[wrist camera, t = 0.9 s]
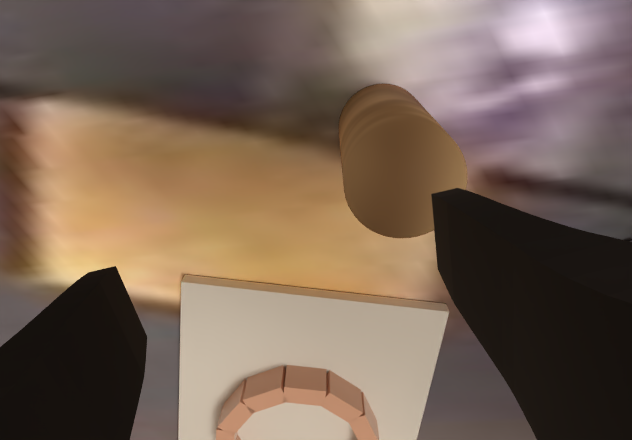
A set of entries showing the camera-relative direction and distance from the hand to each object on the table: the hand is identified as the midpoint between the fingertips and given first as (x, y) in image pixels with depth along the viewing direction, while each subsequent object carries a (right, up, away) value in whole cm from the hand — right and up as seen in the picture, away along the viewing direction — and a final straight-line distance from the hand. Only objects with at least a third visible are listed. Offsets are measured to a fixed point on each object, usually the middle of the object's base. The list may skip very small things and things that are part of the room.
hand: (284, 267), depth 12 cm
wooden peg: (+4, +5, +12) cm, 14 cm away
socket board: (0, -11, +19) cm, 22 cm away
